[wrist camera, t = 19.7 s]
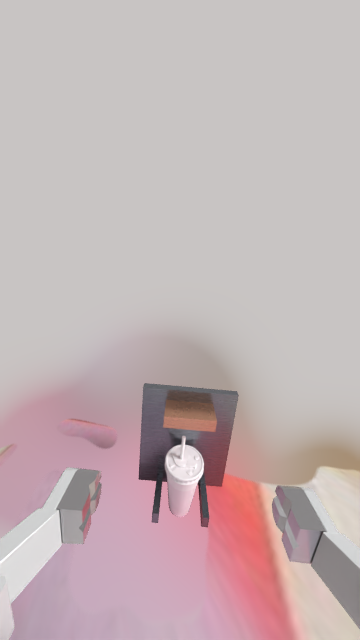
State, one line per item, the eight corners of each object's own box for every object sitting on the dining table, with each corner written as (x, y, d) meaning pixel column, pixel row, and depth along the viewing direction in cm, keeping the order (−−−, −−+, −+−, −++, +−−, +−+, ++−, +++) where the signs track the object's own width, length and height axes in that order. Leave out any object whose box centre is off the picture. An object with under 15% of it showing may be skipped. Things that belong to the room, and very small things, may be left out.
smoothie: (171, 478, 39) (178, 418, 36) (202, 496, 37) (212, 433, 33) (153, 512, 34) (159, 444, 30) (188, 536, 31) (199, 465, 27)
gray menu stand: (129, 520, 32) (134, 414, 27) (140, 473, 40) (144, 383, 35) (229, 528, 32) (251, 424, 27) (220, 480, 40) (236, 391, 35)
